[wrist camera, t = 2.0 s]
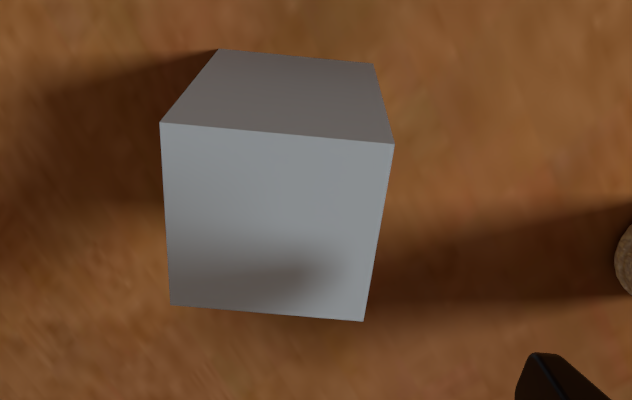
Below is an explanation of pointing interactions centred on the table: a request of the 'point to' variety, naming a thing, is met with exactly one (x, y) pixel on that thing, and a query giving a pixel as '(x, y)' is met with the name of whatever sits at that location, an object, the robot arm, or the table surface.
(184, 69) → the table surface
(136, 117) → the table surface
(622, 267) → the sprinkles bottle
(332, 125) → the grey block
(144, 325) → the table surface
